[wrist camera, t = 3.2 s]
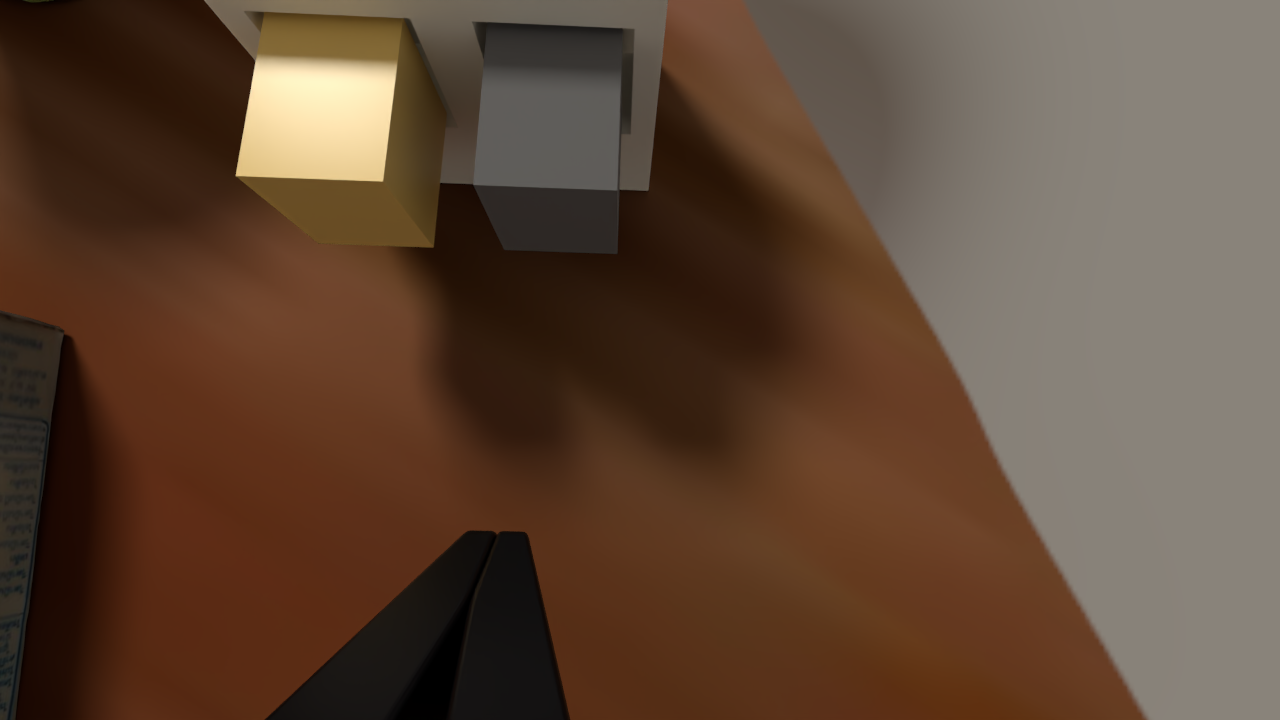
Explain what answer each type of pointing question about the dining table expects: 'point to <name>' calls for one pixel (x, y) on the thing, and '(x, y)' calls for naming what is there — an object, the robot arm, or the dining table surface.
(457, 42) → the console
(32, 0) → the plant pot
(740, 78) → the dining table surface
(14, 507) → the beverage carton
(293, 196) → the amber button
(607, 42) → the charcoal button
